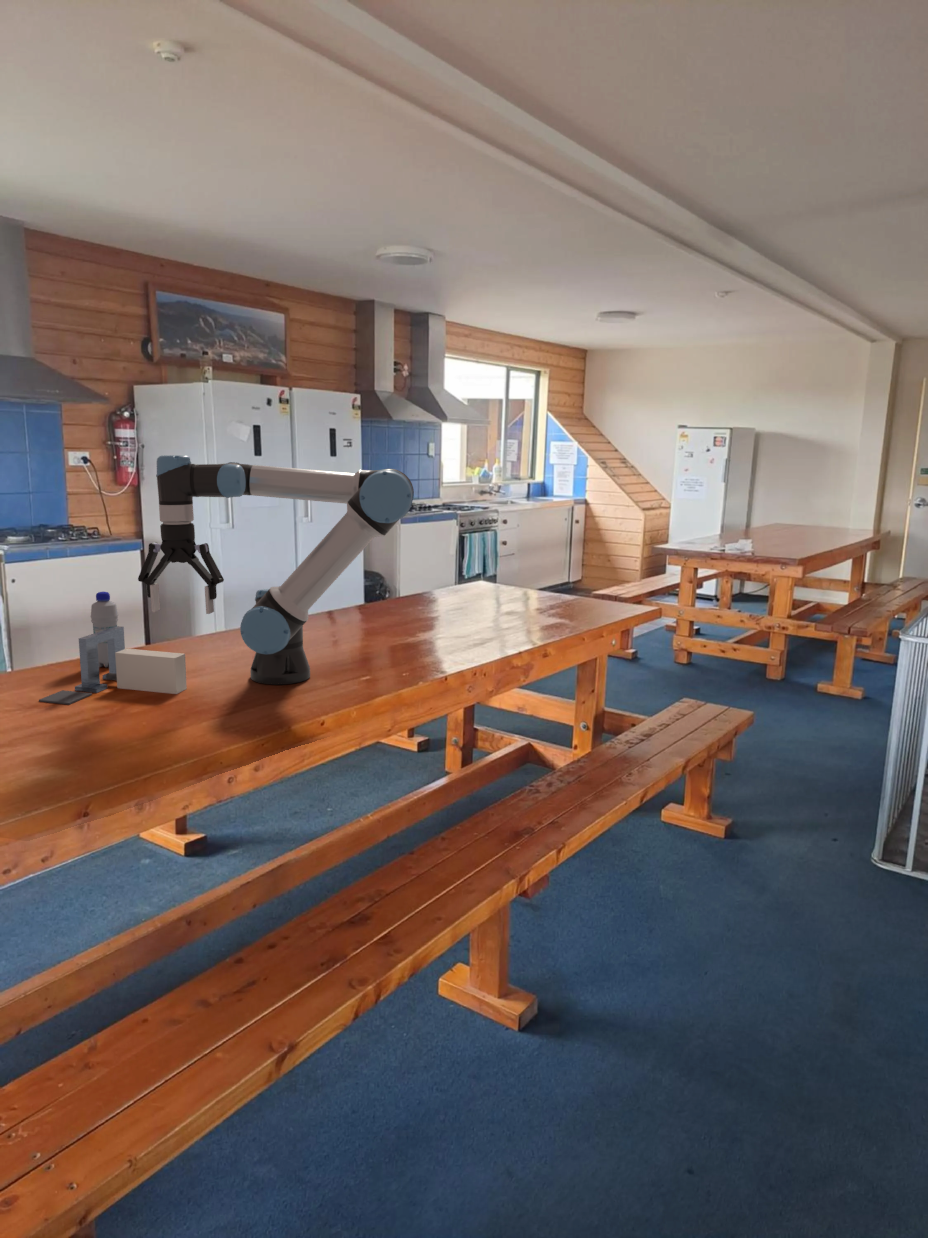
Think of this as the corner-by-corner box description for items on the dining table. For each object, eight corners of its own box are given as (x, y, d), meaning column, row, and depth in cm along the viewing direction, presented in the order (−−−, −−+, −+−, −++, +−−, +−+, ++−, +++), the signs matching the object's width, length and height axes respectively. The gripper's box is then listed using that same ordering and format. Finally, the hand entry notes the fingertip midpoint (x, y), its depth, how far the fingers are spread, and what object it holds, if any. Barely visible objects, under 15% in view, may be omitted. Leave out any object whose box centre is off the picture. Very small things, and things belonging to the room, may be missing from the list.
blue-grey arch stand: (133, 677, 214) (130, 627, 211) (96, 692, 200) (93, 639, 197) (112, 675, 215) (109, 625, 212) (74, 690, 201) (71, 637, 198)
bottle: (92, 669, 220) (87, 594, 216) (95, 662, 226) (91, 589, 222) (119, 668, 222) (115, 593, 218) (122, 661, 228) (118, 589, 224)
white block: (186, 689, 205) (185, 653, 203) (176, 694, 201) (174, 658, 199) (114, 682, 209) (112, 647, 208) (102, 687, 205) (100, 651, 203)
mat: (92, 694, 198) (92, 693, 198) (69, 704, 191) (69, 703, 190) (62, 691, 200) (62, 690, 200) (38, 701, 192) (38, 699, 192)
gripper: (234, 522, 197) (239, 610, 202) (135, 520, 201) (141, 607, 205) (221, 525, 190) (226, 616, 194) (118, 523, 193) (125, 613, 198)
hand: (182, 612), depth 200 cm, fingers open, 13 cm apart
